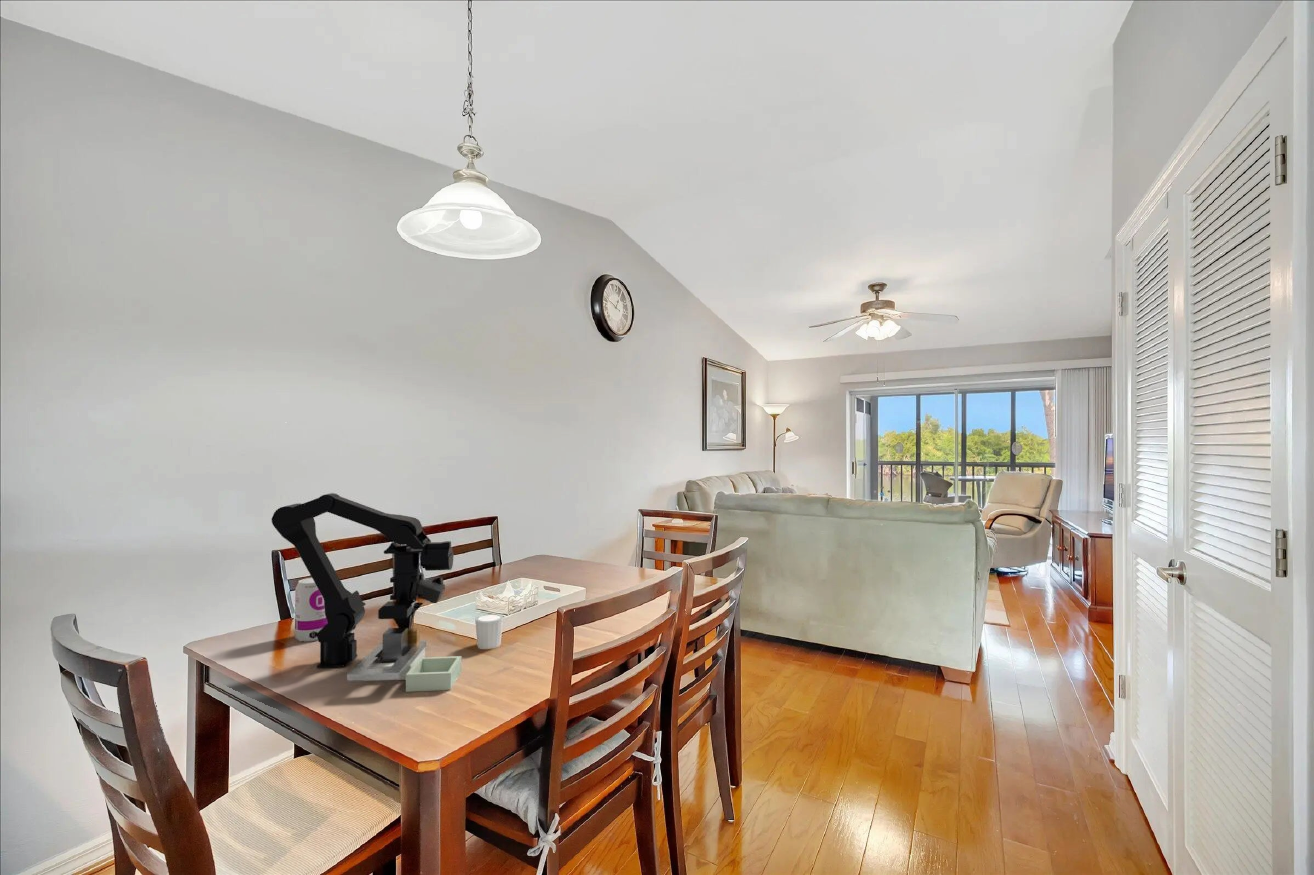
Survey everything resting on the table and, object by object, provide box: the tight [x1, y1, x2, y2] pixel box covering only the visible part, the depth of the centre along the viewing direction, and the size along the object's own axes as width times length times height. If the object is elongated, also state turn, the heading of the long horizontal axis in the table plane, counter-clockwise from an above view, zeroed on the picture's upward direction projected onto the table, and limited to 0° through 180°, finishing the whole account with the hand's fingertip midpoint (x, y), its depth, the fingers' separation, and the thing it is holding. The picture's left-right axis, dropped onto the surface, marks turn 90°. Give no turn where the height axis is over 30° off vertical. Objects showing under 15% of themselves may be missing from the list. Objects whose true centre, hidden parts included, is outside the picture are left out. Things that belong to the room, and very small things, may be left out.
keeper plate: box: [346, 627, 427, 681], centre depth 121 cm, size 18×10×4 cm, turn 6°
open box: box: [405, 655, 462, 693], centre depth 119 cm, size 9×9×4 cm
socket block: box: [361, 647, 426, 682], centre depth 124 cm, size 10×10×3 cm
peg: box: [382, 627, 408, 663], centre depth 124 cm, size 5×5×9 cm
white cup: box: [475, 613, 504, 650], centre depth 140 cm, size 7×7×7 cm
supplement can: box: [294, 577, 328, 643], centre depth 145 cm, size 8×8×15 cm
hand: (406, 636), depth 131 cm, fingers closed
